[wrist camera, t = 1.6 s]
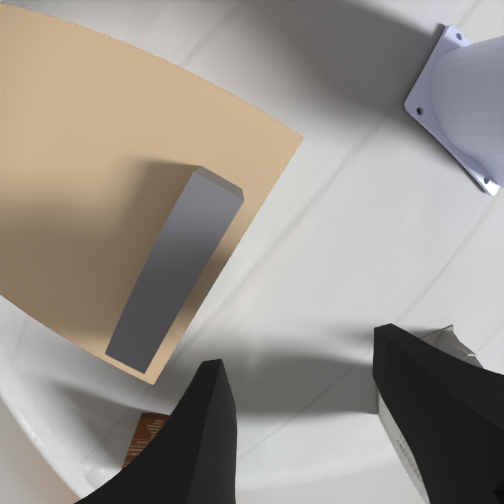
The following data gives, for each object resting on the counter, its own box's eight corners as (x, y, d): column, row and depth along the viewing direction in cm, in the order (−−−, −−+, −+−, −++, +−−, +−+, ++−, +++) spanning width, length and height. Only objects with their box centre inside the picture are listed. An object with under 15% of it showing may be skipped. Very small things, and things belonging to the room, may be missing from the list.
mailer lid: (300, 137, 12) (323, 135, 8) (156, 374, 15) (143, 423, 11) (0, 5, 8) (-38, -12, 5) (-72, 219, 11) (-109, 236, 8)
